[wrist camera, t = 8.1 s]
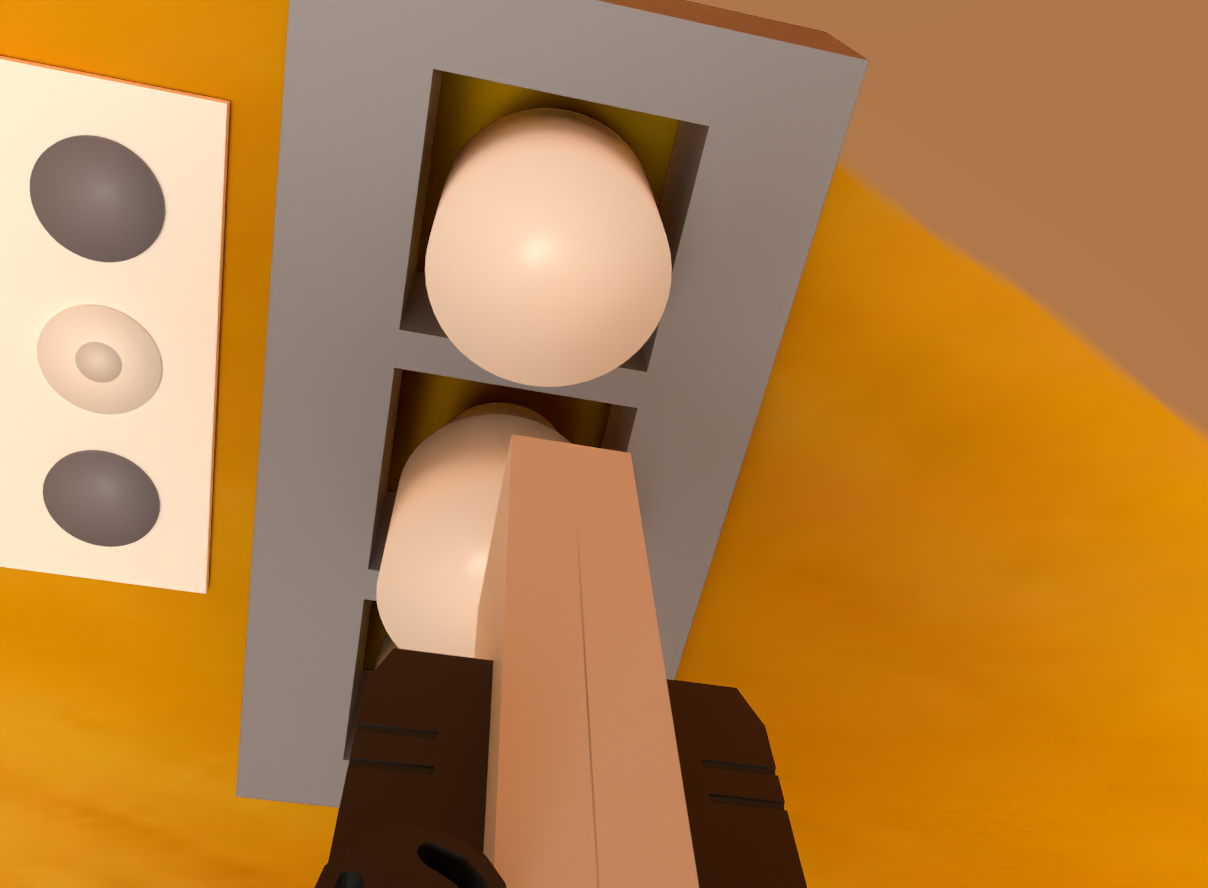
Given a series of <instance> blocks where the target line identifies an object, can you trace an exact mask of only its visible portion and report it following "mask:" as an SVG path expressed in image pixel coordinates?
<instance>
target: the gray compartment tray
mask: <svg viewBox="0 0 1208 888" xmlns="http://www.w3.org/2000/svg"><path fill="white" fill-rule="evenodd" d="M868 62H869V60H867V59H866V58H864V57H863V56H861V55H860V54H858V53H856V52H855V51H854V50H852V49H851V48H849V47H848V46H846V45H845V44H843V43H841V42H840V41H838V40H837V39H835V38H834V37H832V36H831V35H829V34H827V33H826V32H823V31H819V30H814V29H810V28H806V27H801V26H797V25H792V24H788V23H783V22H779V21H774V20H769V19H766V18H761V17H757V16H752V15H748V14H743V13H739V12H734V11H730V10H725V9H721V8H717V7H712V6H707V5H703V4H699V3H694V2H690V1H685V0H289V15H288V30H287V45H286V59H285V74H284V89H283V104H282V119H281V134H280V148H279V163H278V178H277V193H276V208H275V223H274V237H273V252H272V267H271V282H270V297H269V312H268V326H267V341H266V356H265V371H264V386H263V401H262V415H261V430H260V445H259V460H258V475H257V489H256V504H255V519H254V534H253V549H252V564H251V578H250V593H249V608H248V623H247V638H246V653H245V667H244V682H243V697H242V712H241V727H240V742H239V756H238V771H237V786H236V797H245V798H254V799H264V800H273V801H283V802H292V803H301V804H311V805H320V806H330V807H339V808H340V803H341V798H342V793H343V788H344V783H345V778H346V773H347V768H348V765H349V759H350V754H351V749H352V744H353V739H354V734H355V731H356V725H357V719H358V715H359V710H360V705H361V700H362V695H363V690H364V685H365V681H366V680H367V678H368V677H369V676H370V675H371V674H372V673H373V671H372V670H364V669H363V662H364V654H365V647H366V639H367V632H368V625H369V617H370V610H371V602H372V600H373V601H377V598H376V591H377V581H378V576H379V572H380V567H381V562H382V558H383V553H384V549H385V544H386V540H387V535H388V531H389V526H390V521H391V517H392V512H393V508H394V503H395V499H396V494H397V492H394V491H387V484H388V476H389V469H390V461H391V454H392V447H393V439H394V432H395V424H396V417H397V409H398V402H399V395H400V387H401V380H402V372H403V369H405V370H411V371H417V372H423V373H429V374H435V375H441V376H447V377H453V378H459V379H465V380H471V381H477V382H483V383H489V384H495V385H501V386H507V387H513V388H519V389H525V390H531V391H537V392H543V393H549V394H555V395H562V396H568V397H574V398H580V399H586V400H592V401H598V402H604V403H610V404H612V405H611V409H610V413H609V417H608V421H607V426H606V430H605V434H604V438H603V442H602V446H601V448H602V449H608V450H614V451H621V452H627V453H631V457H632V464H633V470H634V476H635V483H636V489H637V495H638V502H639V508H640V514H641V521H642V527H643V534H644V540H645V546H646V553H647V559H648V565H649V572H650V578H651V584H652V591H653V597H654V604H655V610H656V616H657V623H658V629H659V635H660V642H661V648H662V654H663V661H664V667H665V674H666V679H669V680H674V679H675V676H676V673H677V670H678V666H679V663H680V660H681V657H682V654H683V650H684V647H685V644H686V641H687V638H688V635H689V631H690V628H691V625H692V622H693V619H694V616H695V612H696V609H697V606H698V603H699V600H700V596H701V593H702V590H703V587H704V584H705V581H706V577H707V574H708V571H709V568H710V565H711V561H712V558H713V555H714V552H715V549H716V546H717V542H718V539H719V536H720V533H721V530H722V526H723V523H724V520H725V517H726V514H727V511H728V507H729V504H730V501H731V498H732V495H733V491H734V488H735V485H736V482H737V479H738V476H739V472H740V469H741V466H742V463H743V460H744V456H745V453H746V450H747V447H748V444H749V441H750V437H751V434H752V431H753V428H754V425H755V422H756V418H757V415H758V412H759V409H760V406H761V402H762V399H763V396H764V393H765V390H766V387H767V383H768V380H769V377H770V374H771V371H772V367H773V364H774V361H775V358H776V355H777V352H778V348H779V345H780V342H781V339H782V336H783V332H784V329H785V326H786V323H787V320H788V317H789V313H790V310H791V307H792V304H793V301H794V297H795V294H796V291H797V288H798V285H799V282H800V278H801V275H802V272H803V269H804V266H805V263H806V259H807V256H808V253H809V250H810V247H811V243H812V240H813V237H814V234H815V231H816V228H817V224H818V221H819V218H820V215H821V212H822V208H823V205H824V202H825V199H826V196H827V193H828V189H829V186H830V183H831V180H832V177H833V173H834V170H835V167H836V164H837V161H838V158H839V154H840V151H841V148H842V145H843V142H844V138H845V135H846V132H847V129H848V126H849V122H850V119H851V116H852V113H853V110H854V107H855V103H856V100H857V97H858V94H859V91H860V87H861V84H862V81H863V78H864V75H865V71H866V69H867V65H868ZM443 71H446V72H450V73H455V74H460V75H465V76H470V77H475V78H479V79H484V80H489V81H494V82H499V83H503V84H508V85H513V86H518V87H523V88H528V89H532V90H537V91H542V92H547V93H552V94H556V95H561V96H566V97H571V98H576V99H581V100H585V101H590V102H595V103H600V104H605V105H610V106H614V107H619V108H624V109H629V110H634V111H638V112H643V113H648V114H653V115H658V116H663V117H667V118H672V119H677V120H680V122H679V126H678V130H677V134H676V139H675V143H674V147H673V151H672V155H671V159H670V164H669V168H668V172H667V176H666V180H665V184H664V188H663V193H662V197H661V201H660V205H659V209H658V212H659V215H660V218H661V221H662V224H663V227H664V230H665V233H666V236H667V240H668V245H669V249H670V254H671V265H672V274H671V286H670V292H669V297H668V301H667V304H666V307H665V310H664V313H663V315H662V317H661V319H660V321H659V323H658V325H657V327H656V328H655V330H654V331H653V333H652V334H651V336H650V337H649V339H648V340H647V341H646V342H645V343H644V345H643V346H642V347H641V348H640V349H639V350H638V351H637V352H636V353H635V354H634V355H633V356H632V357H630V358H629V359H628V360H627V361H626V362H624V363H623V364H621V365H620V366H618V367H617V368H615V369H614V370H612V371H610V372H608V373H606V374H604V375H602V376H600V377H597V378H595V379H592V380H589V381H586V382H582V383H578V384H574V385H567V386H560V387H540V386H530V385H525V384H520V383H516V382H512V381H509V380H506V379H503V378H501V377H498V376H496V375H494V374H492V373H490V372H488V371H486V370H484V369H483V368H481V367H480V366H478V365H477V364H475V363H474V362H472V361H471V360H470V359H469V358H467V357H466V356H465V355H464V354H463V353H462V352H460V351H459V349H458V348H457V347H456V346H455V345H454V344H453V343H452V342H451V341H450V339H449V338H448V336H447V335H446V334H445V332H444V331H443V329H442V328H441V326H440V324H439V322H438V320H437V318H436V316H435V314H434V312H433V309H432V306H431V303H430V301H429V297H428V292H427V287H426V278H425V272H419V271H416V268H417V261H418V254H419V246H420V239H421V231H422V224H423V217H424V209H425V202H426V194H427V187H428V179H429V172H430V165H431V157H432V150H433V142H434V135H435V127H436V120H437V113H438V105H439V98H440V90H441V83H442V76H443Z"/></svg>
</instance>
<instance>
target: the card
mask: <svg viewBox="0 0 1208 888" xmlns="http://www.w3.org/2000/svg"><path fill="white" fill-rule="evenodd" d="M229 114H230V101H227V100H222V99H217V98H212V97H207V96H202V95H197V94H192V93H187V92H182V91H177V90H172V89H166V88H161V87H156V86H151V85H146V84H141V83H136V82H131V81H126V80H121V79H116V78H111V77H106V76H101V75H96V74H91V73H86V72H80V71H75V70H70V69H65V68H60V67H55V66H50V65H45V64H40V63H35V62H30V61H25V60H20V59H15V58H10V57H5V56H0V567H7V568H15V569H22V570H30V571H37V572H45V573H53V574H60V575H68V576H75V577H83V578H90V579H98V580H106V581H113V582H121V583H128V584H136V585H143V586H151V587H159V588H166V589H174V590H181V591H189V592H196V593H204V594H206V592H207V590H208V583H209V561H210V538H211V516H212V494H213V471H214V449H215V427H216V404H217V382H218V360H219V337H220V315H221V293H222V270H223V248H224V226H225V203H226V181H227V159H228V136H229Z"/></svg>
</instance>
